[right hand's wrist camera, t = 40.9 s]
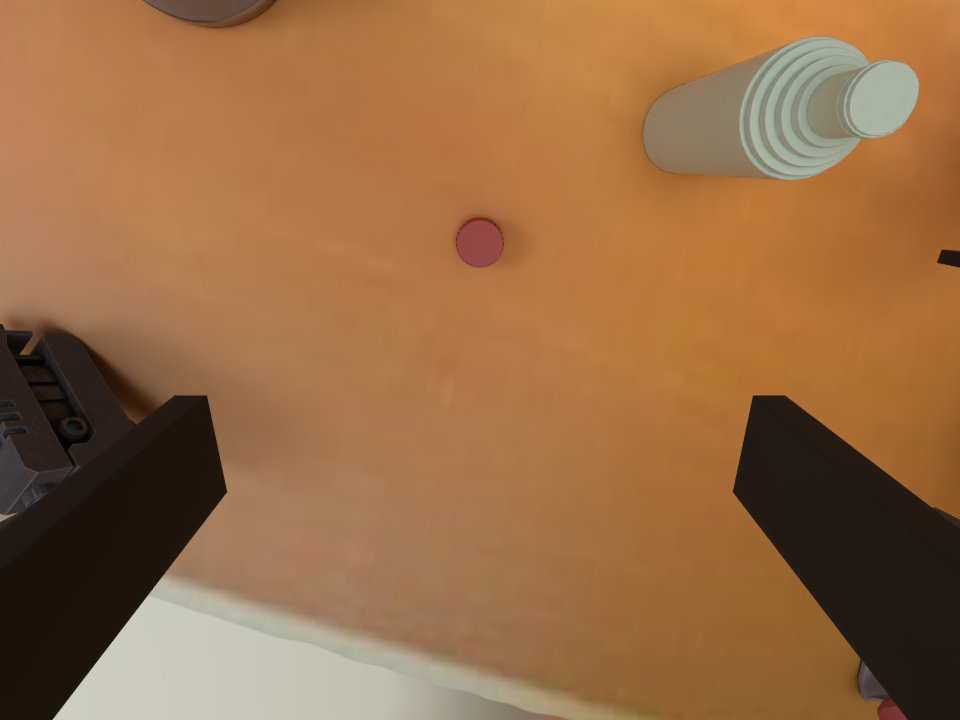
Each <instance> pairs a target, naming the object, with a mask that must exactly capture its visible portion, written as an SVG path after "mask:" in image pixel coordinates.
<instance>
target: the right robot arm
mask: <svg viewBox="0 0 960 720" xmlns="http://www.w3.org/2000/svg"><path fill="white" fill-rule="evenodd" d="M143 1H145V2H146V3H148V4H149V5H151V6H152V7H154V8H156V9H158V10H160V11H161V12H164V13H166V14H168V15H170V16H172V17H174V18H176V19H179V20H181V21H184V22H187V23H190V24H193V25H198V26H204V27H227V26H233V25H237V24H240V23H243V22H246V21H248V20H250V19H252V18H254V17H256V16H257V15H259V14H260V13H262V12H263V11H265V10H266V9H267V8H268V7H269V6H270V5H271V4H272V3H273V2H274V1H275V0H143ZM226 493H227V489H226V484H225V480H224V475H223V470H222V465H221V461H220V456H219V451H218V446H217V441H216V437H215V432H214V427H213V422H212V418H211V413H210V408H209V403H208V399H207V396H174V397H172V398H171V399H170V400H168V401H167V402H166V403H165V404H163V405H162V406H161V407H159V408H158V409H157V410H155V411H154V412H153V413H151V414H150V415H149V416H148V417H146V418H145V419H144V420H142V421H141V422H140V423H138V424H137V425H136V426H134V427H133V428H132V429H131V430H129V431H128V432H127V433H125V434H124V435H123V436H121V437H120V438H119V439H117V440H116V441H115V442H114V443H112V444H111V445H110V446H108V447H107V448H106V449H104V450H103V451H102V452H100V453H99V454H98V455H97V456H95V457H94V458H93V459H91V460H90V461H89V462H87V463H86V464H85V465H83V466H82V467H81V468H79V469H78V470H77V471H76V472H74V473H73V474H72V475H70V476H69V477H68V478H66V479H65V480H64V481H62V482H61V483H60V484H59V485H57V486H56V487H55V488H53V489H52V490H51V491H49V492H48V493H47V494H45V495H44V496H43V497H42V498H40V499H39V500H38V501H36V502H35V503H34V504H32V505H31V506H30V507H28V508H27V509H25V510H23V511H21V512H19V513H17V514H15V515H13V516H11V517H9V518H7V519H5V520H3V521H1V522H0V720H53V718H54V717H55V716H56V714H57V713H58V712H59V711H60V709H61V708H62V707H63V705H64V704H65V703H66V701H67V700H68V699H69V698H70V696H71V695H72V694H73V692H74V691H75V690H76V688H77V687H78V686H79V684H80V683H81V682H82V680H83V679H84V678H85V677H86V675H87V674H88V673H89V671H90V670H91V669H92V668H93V666H94V665H95V664H96V662H97V661H98V660H99V658H100V657H101V656H102V654H103V653H104V652H105V650H106V649H107V648H108V647H109V645H110V644H111V643H112V641H113V640H114V639H115V638H116V636H117V635H118V634H119V632H120V631H121V630H122V628H123V627H124V626H125V625H126V623H127V622H128V621H129V619H130V618H131V617H132V615H133V614H134V613H135V611H136V610H137V609H138V608H139V606H140V605H141V604H142V602H143V601H144V600H145V598H146V597H147V596H148V595H149V593H150V592H151V591H152V589H153V588H154V587H155V585H156V584H157V583H158V581H159V580H160V579H161V578H162V576H163V575H164V574H165V572H166V571H167V570H168V568H169V567H170V566H171V565H172V563H173V562H174V561H175V559H176V558H177V557H178V555H179V554H180V553H181V552H182V550H183V549H184V548H185V546H186V545H187V544H188V542H189V541H190V540H191V538H192V537H193V536H194V535H195V533H196V532H197V531H198V529H199V528H200V527H201V525H202V524H203V523H204V522H205V520H206V519H207V518H208V516H209V515H210V514H211V512H212V511H213V510H214V508H215V507H216V506H217V505H218V503H219V502H220V501H221V499H222V498H223V497H224V495H225V494H226ZM733 493H734V494H735V495H736V497H737V498H738V499H739V501H740V502H741V503H742V505H743V506H744V507H745V508H746V510H747V511H748V512H749V514H750V515H751V516H752V518H753V519H754V520H755V522H756V523H757V524H758V525H759V527H760V528H761V529H762V531H763V532H764V533H765V535H766V536H767V537H768V538H769V540H770V541H771V542H772V544H773V545H774V546H775V548H776V549H777V550H778V552H779V553H780V554H781V555H782V557H783V558H784V559H785V561H786V562H787V563H788V565H789V566H790V567H791V568H792V570H793V571H794V572H795V574H796V575H797V576H798V578H799V579H800V580H801V581H802V583H803V584H804V585H805V587H806V588H807V589H808V591H809V592H810V593H811V595H812V596H813V597H814V598H815V600H816V601H817V602H818V604H819V605H820V606H821V608H822V609H823V610H824V611H825V613H826V614H827V615H828V617H829V618H830V619H831V621H832V622H833V623H834V625H835V626H836V627H837V628H838V630H839V631H840V632H841V634H842V635H843V636H844V638H845V639H846V640H847V641H848V643H849V644H850V645H851V647H852V648H853V649H854V651H855V652H856V653H857V654H858V656H859V657H860V658H861V660H862V661H863V662H864V664H865V665H866V666H867V668H868V669H869V670H870V671H871V673H872V674H873V675H874V677H875V678H876V679H877V681H878V682H879V683H880V684H881V686H882V687H883V688H884V690H885V691H886V692H887V694H888V695H889V696H890V698H891V699H892V700H893V701H894V703H895V704H896V705H897V707H898V708H899V709H900V711H901V712H902V713H903V714H904V716H905V717H906V718H907V720H960V520H959V519H957V518H955V517H953V516H951V515H949V514H947V513H945V512H943V511H941V510H940V509H938V508H932V507H930V506H929V505H928V504H926V503H925V502H924V501H922V500H921V499H920V498H918V497H917V496H916V495H915V494H913V493H912V492H911V491H909V490H908V489H907V488H905V487H904V486H903V485H901V484H900V483H899V482H898V481H896V480H895V479H894V478H892V477H891V476H890V475H888V474H887V473H886V472H884V471H883V470H882V469H881V468H879V467H878V466H877V465H875V464H874V463H873V462H871V461H870V460H869V459H867V458H866V457H865V456H863V455H862V454H861V453H860V452H858V451H857V450H856V449H854V448H853V447H852V446H850V445H849V444H848V443H846V442H845V441H844V440H843V439H841V438H840V437H839V436H837V435H836V434H835V433H833V432H832V431H831V430H829V429H828V428H827V427H826V426H824V425H823V424H822V423H820V422H819V421H818V420H816V419H815V418H814V417H812V416H811V415H810V414H809V413H807V412H806V411H805V410H803V409H802V408H801V407H799V406H798V405H797V404H795V403H794V402H793V401H792V400H790V399H789V398H788V397H786V396H753V399H752V403H751V408H750V413H749V418H748V422H747V427H746V432H745V437H744V441H743V446H742V451H741V456H740V461H739V465H738V470H737V475H736V480H735V484H734V489H733Z"/></svg>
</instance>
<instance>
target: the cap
mask: <svg viewBox="0 0 960 720" xmlns="http://www.w3.org/2000/svg"><path fill="white" fill-rule="evenodd" d="M456 240H457V244H456V246H457V251H458V253H459V255H460V257H461V258H462V259H463V260H464V261H465V262H466V263H467V264H469V265H471V266H474V267H486V266H489V265H491V264H493V263H494V262H495V261H496V260H497V259H498V258H499V256H500V255H501V252H502V250H503V245H504V244H503V237H502V233H501V232H500V229H499V227H497V226H496V224H494V223H493V222H492V220H491V221H490V220H488V219H487V218H486V219H485V218H475V219H472V220H470V221H467V223H465V224H463V226H462V228H460V232H458V237H457V239H456Z"/></svg>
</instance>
